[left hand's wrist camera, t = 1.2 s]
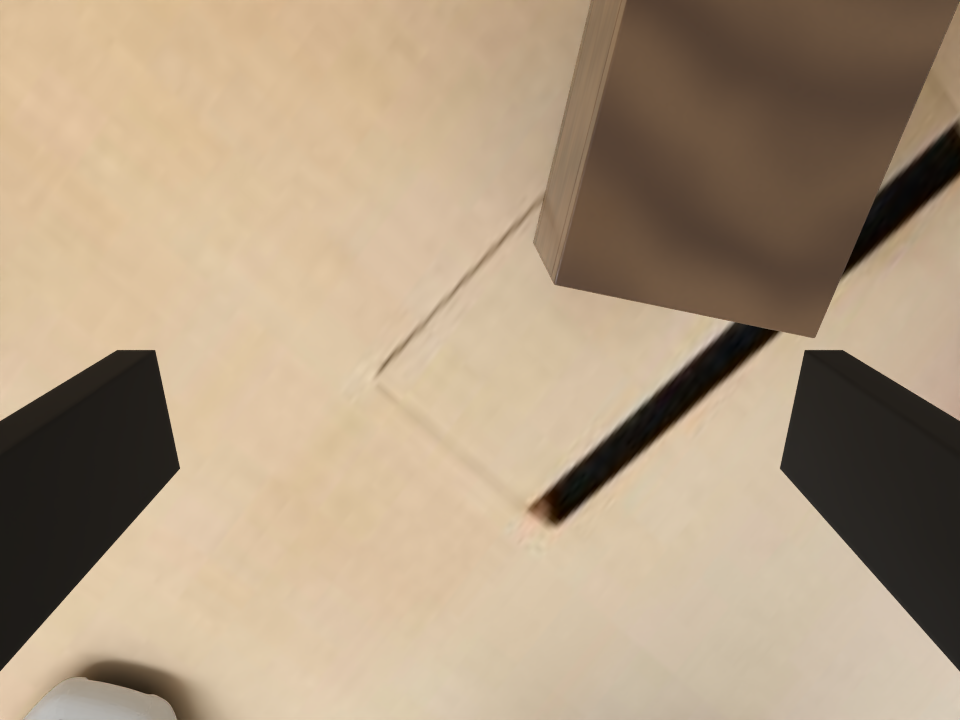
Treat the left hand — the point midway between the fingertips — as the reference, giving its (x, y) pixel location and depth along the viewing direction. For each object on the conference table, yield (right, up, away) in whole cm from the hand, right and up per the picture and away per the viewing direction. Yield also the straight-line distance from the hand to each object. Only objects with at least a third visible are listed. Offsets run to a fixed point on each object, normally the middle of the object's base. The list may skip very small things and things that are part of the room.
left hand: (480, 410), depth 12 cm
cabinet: (+10, +15, +18) cm, 26 cm away
